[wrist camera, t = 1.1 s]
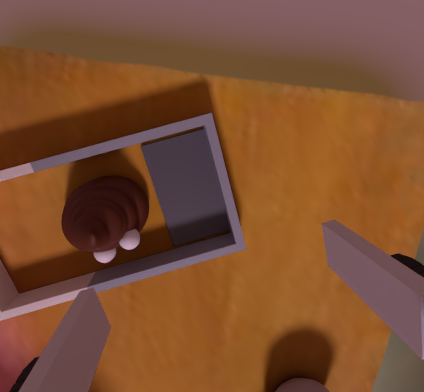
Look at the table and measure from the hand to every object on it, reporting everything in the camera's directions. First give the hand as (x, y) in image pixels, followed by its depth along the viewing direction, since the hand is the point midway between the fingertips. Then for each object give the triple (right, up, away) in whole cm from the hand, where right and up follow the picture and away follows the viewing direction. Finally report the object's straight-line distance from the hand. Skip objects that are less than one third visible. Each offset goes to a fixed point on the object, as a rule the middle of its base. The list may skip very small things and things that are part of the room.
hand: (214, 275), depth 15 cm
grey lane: (-8, +4, +18) cm, 20 cm away
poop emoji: (-13, +3, +18) cm, 22 cm away
